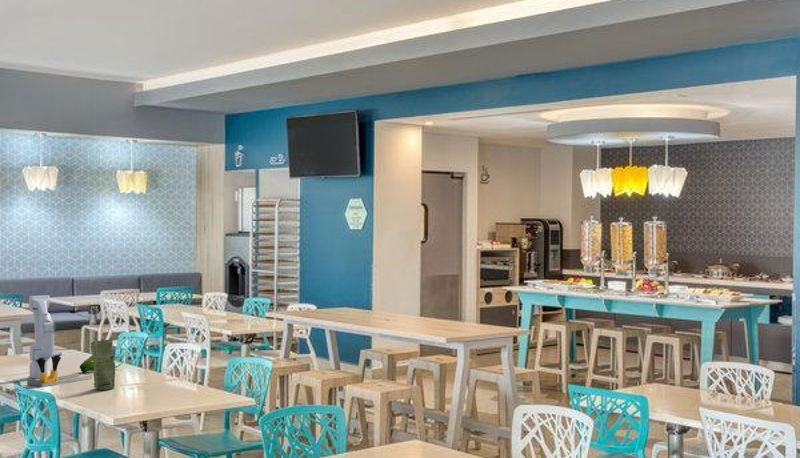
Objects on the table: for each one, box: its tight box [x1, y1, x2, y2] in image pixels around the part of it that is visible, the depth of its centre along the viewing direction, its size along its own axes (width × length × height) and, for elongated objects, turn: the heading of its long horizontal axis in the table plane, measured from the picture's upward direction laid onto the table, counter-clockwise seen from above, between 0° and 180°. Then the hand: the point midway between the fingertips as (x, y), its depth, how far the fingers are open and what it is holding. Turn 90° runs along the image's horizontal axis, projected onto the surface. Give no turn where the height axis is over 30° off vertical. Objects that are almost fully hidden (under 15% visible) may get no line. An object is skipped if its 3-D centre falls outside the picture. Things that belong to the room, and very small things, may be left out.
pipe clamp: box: [39, 369, 58, 383], centre depth 476 cm, size 12×4×6 cm, turn 171°
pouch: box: [90, 337, 116, 391], centre depth 460 cm, size 11×12×25 cm
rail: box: [26, 373, 93, 388], centre depth 482 cm, size 12×30×3 cm, turn 144°
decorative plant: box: [79, 346, 130, 374], centre depth 520 cm, size 18×30×15 cm, turn 113°
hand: (48, 371), depth 477 cm, fingers open, 6 cm apart
